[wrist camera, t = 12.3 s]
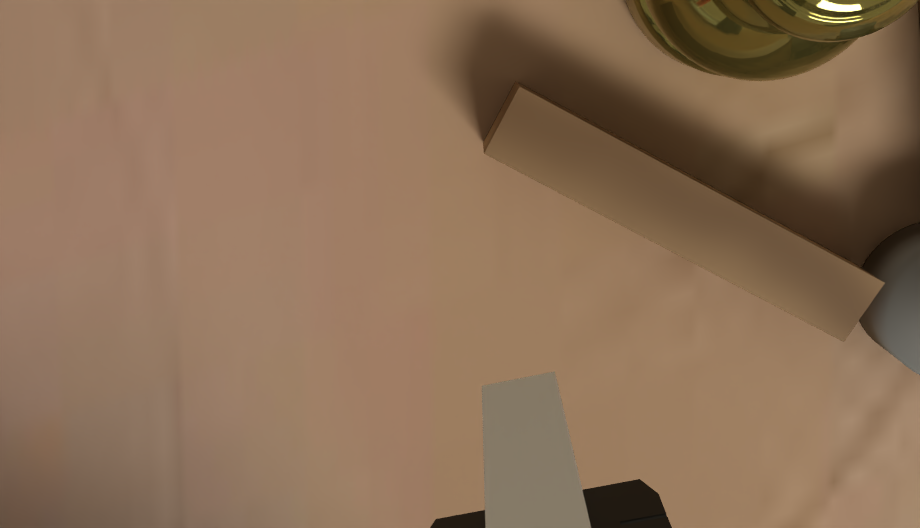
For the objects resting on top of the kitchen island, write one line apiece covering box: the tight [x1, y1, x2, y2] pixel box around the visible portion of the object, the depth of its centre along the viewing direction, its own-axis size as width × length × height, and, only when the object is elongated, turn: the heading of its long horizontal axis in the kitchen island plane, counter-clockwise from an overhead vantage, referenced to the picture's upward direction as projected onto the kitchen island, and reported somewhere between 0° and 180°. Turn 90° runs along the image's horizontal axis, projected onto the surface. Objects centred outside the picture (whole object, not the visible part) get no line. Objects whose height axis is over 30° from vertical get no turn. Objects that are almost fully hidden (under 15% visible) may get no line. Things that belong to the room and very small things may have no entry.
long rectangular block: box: [483, 81, 885, 342], centre depth 29 cm, size 2×14×2 cm, turn 63°
